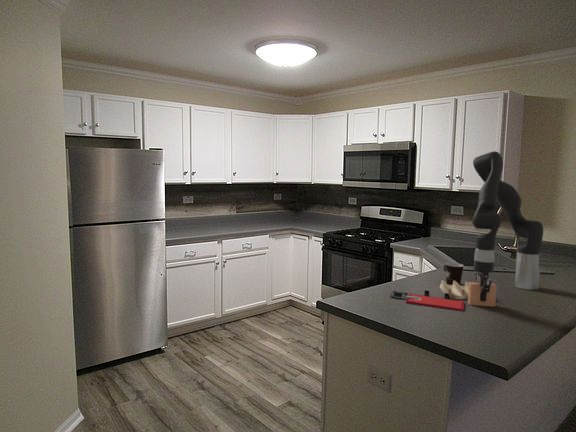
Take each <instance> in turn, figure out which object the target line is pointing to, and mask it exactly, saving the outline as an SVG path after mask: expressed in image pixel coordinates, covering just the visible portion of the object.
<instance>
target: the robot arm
mask: <svg viewBox="0 0 576 432" xmlns="http://www.w3.org/2000/svg"><path fill="white" fill-rule="evenodd" d="M472 164H473V168H474V170H475V173H477V175H478V176H479V177H480V179H481V180H482V181H483V182H484V183H483V184H482V186H481V188H480V190H479V192H478V193H479V194H478V201H477V203H478V204H477V207H476V210H475V212H474V214H473V217H472V221H471V224H472V225H473V227H474V228H476V229H479V230H490V231H489V232H487V233H484V234H482V233H480V234H478V235H476V239H475V251H474V256H473V257H474V259H473V271H476V272H477V273H476V272H475V273H474V274H475V283H479V286H480V287H481V289H480V292H481V293H480V301H484V302H485V301H486V296H487V293H489V290H490V286H491V283H492V280H491V279H490V278H491V277H490V275H489V274H490V273H493V272H494V270H495V258H496V257H495V247H496V246H495V244H496V238H497V237H496V236H497V234H498V231H499V228H500V227H501V223H502V217H501V215H500V214H499V213H498V212H495V210H496V209H497V206H498V205H499V206H500V208H501V209H502V211H503V212H504V214H505V216H506V217H507V219H508V221H509V223H510V225H511V227H512V229H513V231H514V233H515V235H516V236H517V237H519V238H521V239H525V240H526V243H524V244H523V245H522V244H521V245H518V246H517V247H516V248H517V249H516V250H517V251H516V263H515V265H516V266H515V277H514V278H515V280H514V287H516V288H519V289H522V290H539V288H540V287H539V285H540V276H541V275H540V271H541V270H540V269H539V262H540V261H539V259H540V258H539V257H540V251H541V248H542V243H543V237H544V225H543V224H542V223H541V222H540V221H539V220H531V219H526V218H525V217H524V216H523V214H522V213H521V207H522V198H521V196H520V195H519V193H518V191H517V189H516V188H515V187H514V186H512V185H511V184H509V183H507V182H505V181H503V180H501V177H502V172H503V168H504V160H503V157H502V155H501V153H500V152H498V151H496V150H495V151H490V152H487V153H485V154H482V155H479V156H477V157H475V158H473V161H472ZM482 284H483V285H482ZM485 288H486V289H485Z"/></svg>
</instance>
